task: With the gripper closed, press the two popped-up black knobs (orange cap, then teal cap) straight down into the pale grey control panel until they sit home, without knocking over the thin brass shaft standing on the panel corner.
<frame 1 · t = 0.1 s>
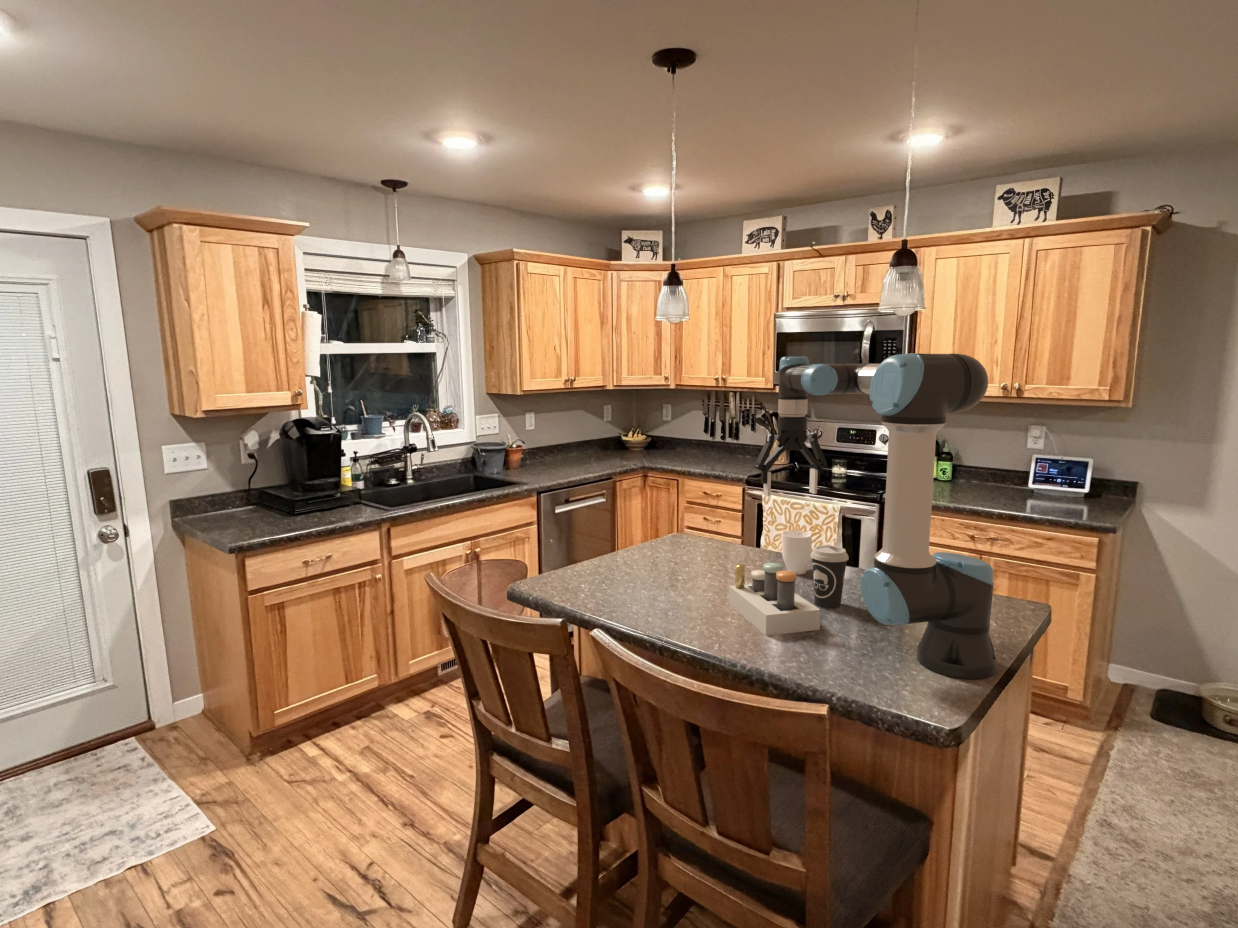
hand: (790, 494, 186), 28 cm above the countertop, fingers open, 13 cm apart
knob b: (772, 583, 172), point 9 cm above the countertop, slide at 0.0 cm
knob a: (785, 592, 166), point 9 cm above the countertop, slide at 0.0 cm
knob c: (760, 589, 180), point 5 cm above the countertop, slide at 4.0 cm
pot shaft: (739, 587, 181), point 5 cm above the countertop, touching panel
mug: (797, 571, 211), on the countertop
coffee cup: (827, 605, 182), on the countertop
panel: (771, 616, 174), on the countertop
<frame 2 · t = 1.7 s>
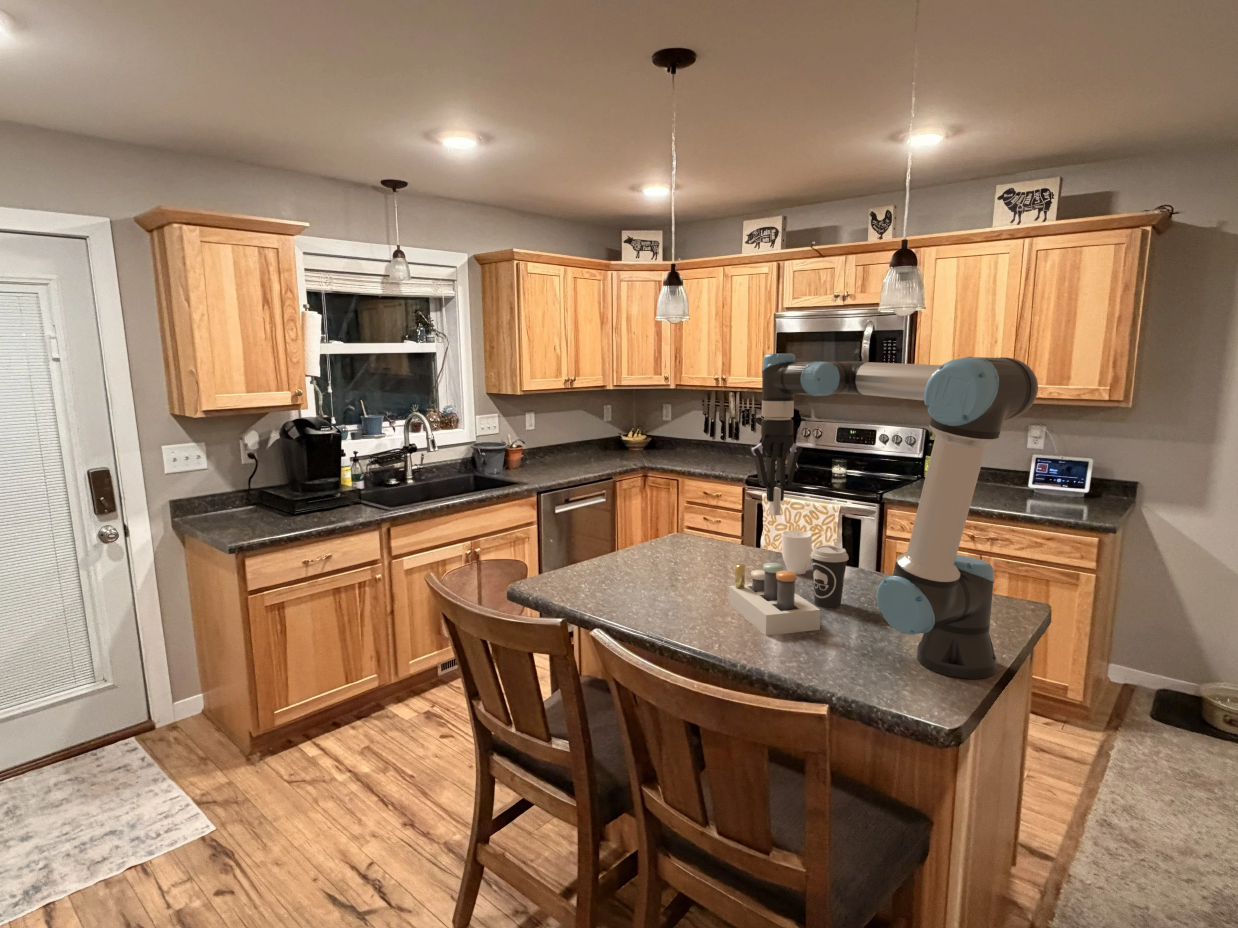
hand: (774, 514, 170), 26 cm above the countertop, fingers closed
nothing on the countertop moved.
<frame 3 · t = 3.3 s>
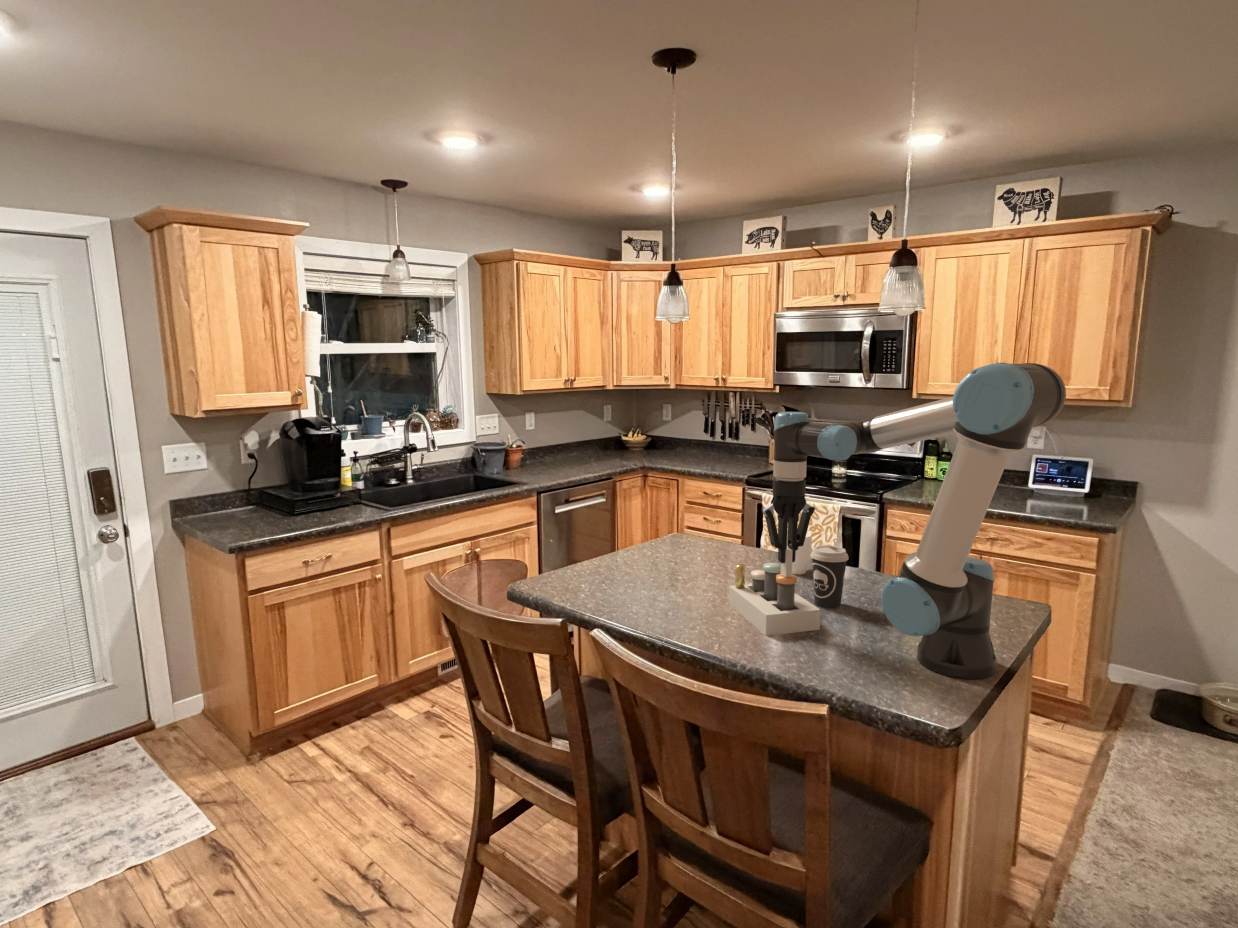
hand: (786, 575, 165), 13 cm above the countertop, fingers closed
knob a: (785, 594, 166), point 8 cm above the countertop, slide at 0.7 cm, touching gripper
everything else where it was.
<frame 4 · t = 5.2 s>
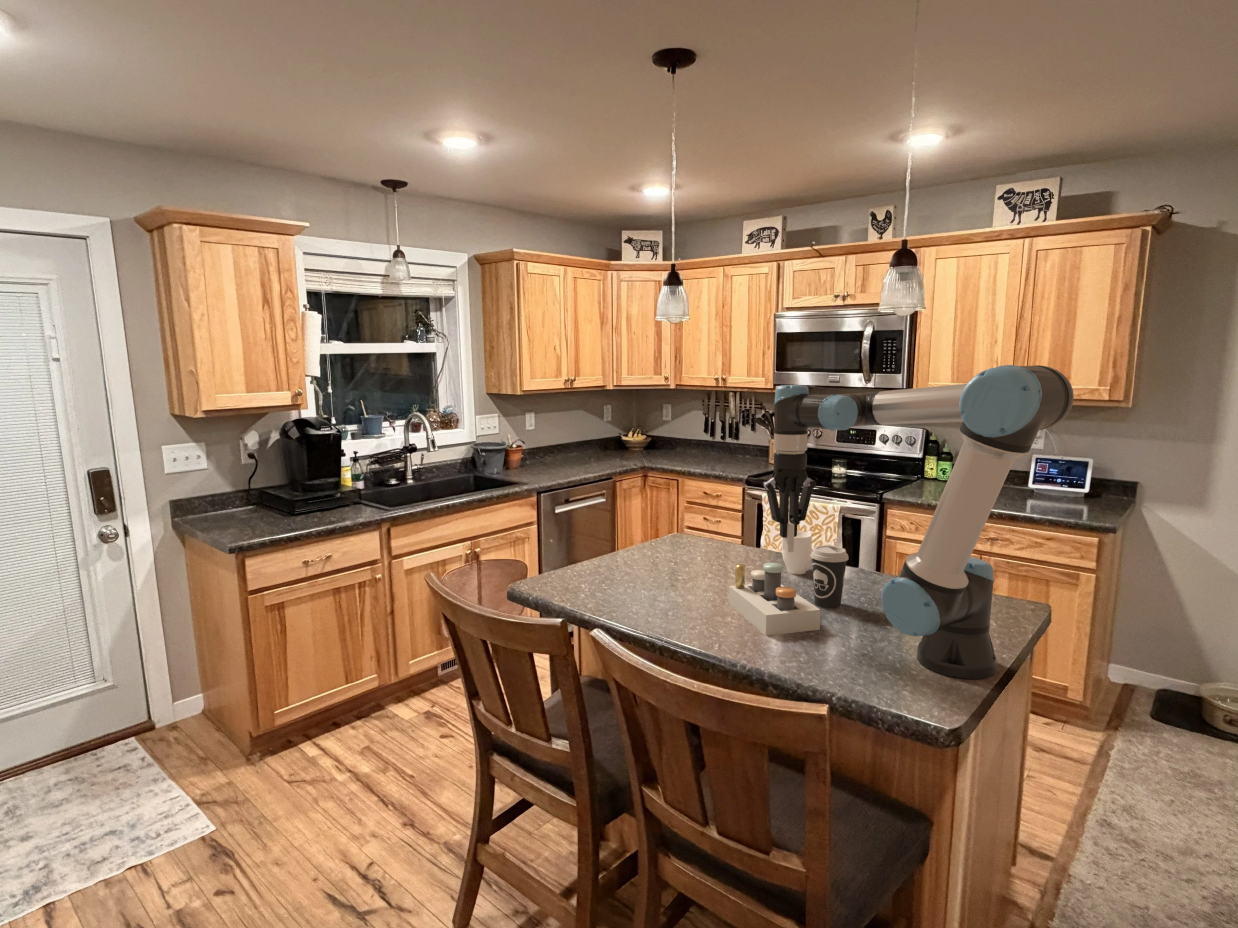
hand: (788, 550, 164), 19 cm above the countertop, fingers closed
knob a: (785, 608, 166), point 5 cm above the countertop, slide at 4.0 cm
everything else where it was.
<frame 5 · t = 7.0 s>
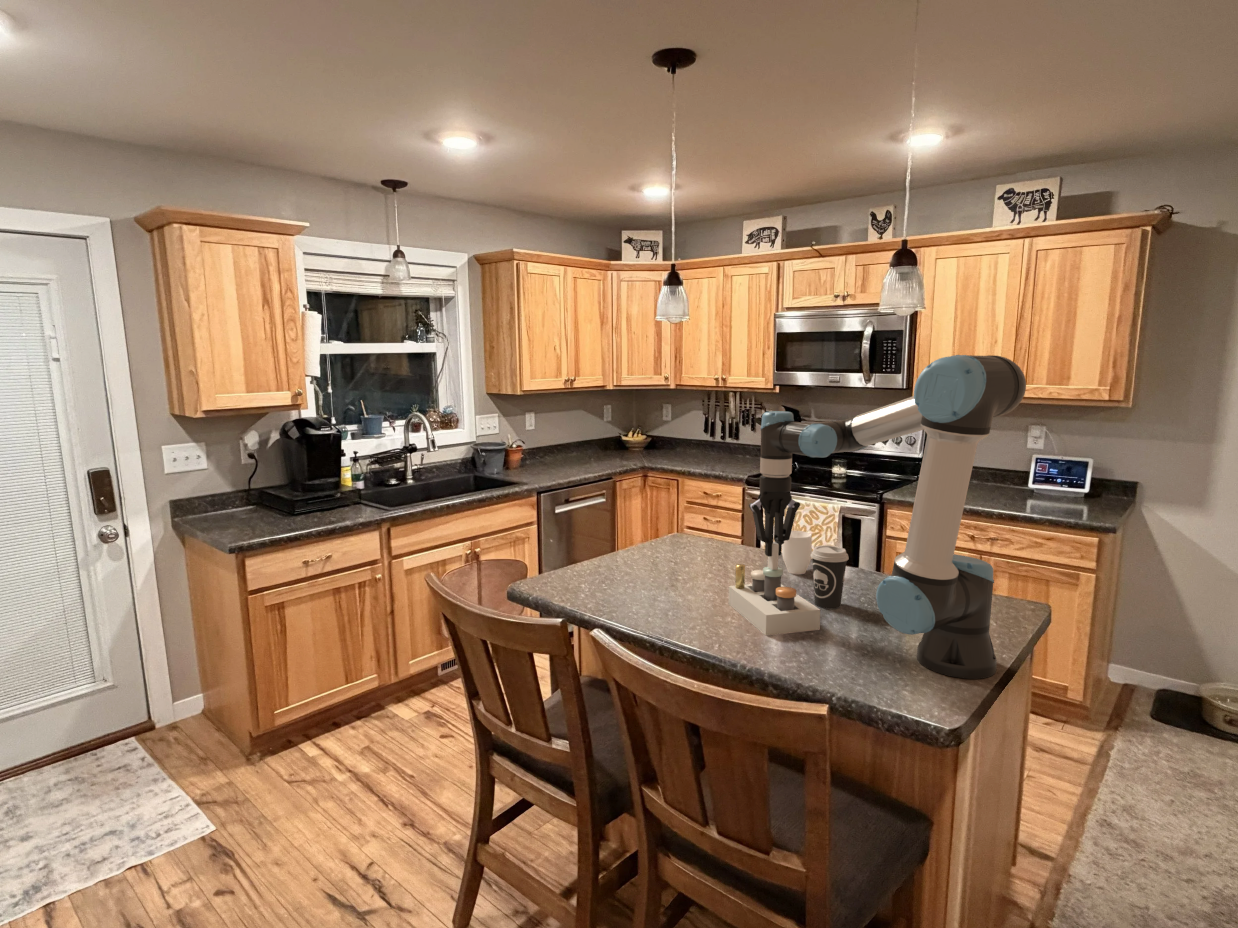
hand: (772, 568, 172), 12 cm above the countertop, fingers closed
knob b: (772, 587, 173), point 8 cm above the countertop, slide at 1.0 cm, touching gripper
everything else where it was.
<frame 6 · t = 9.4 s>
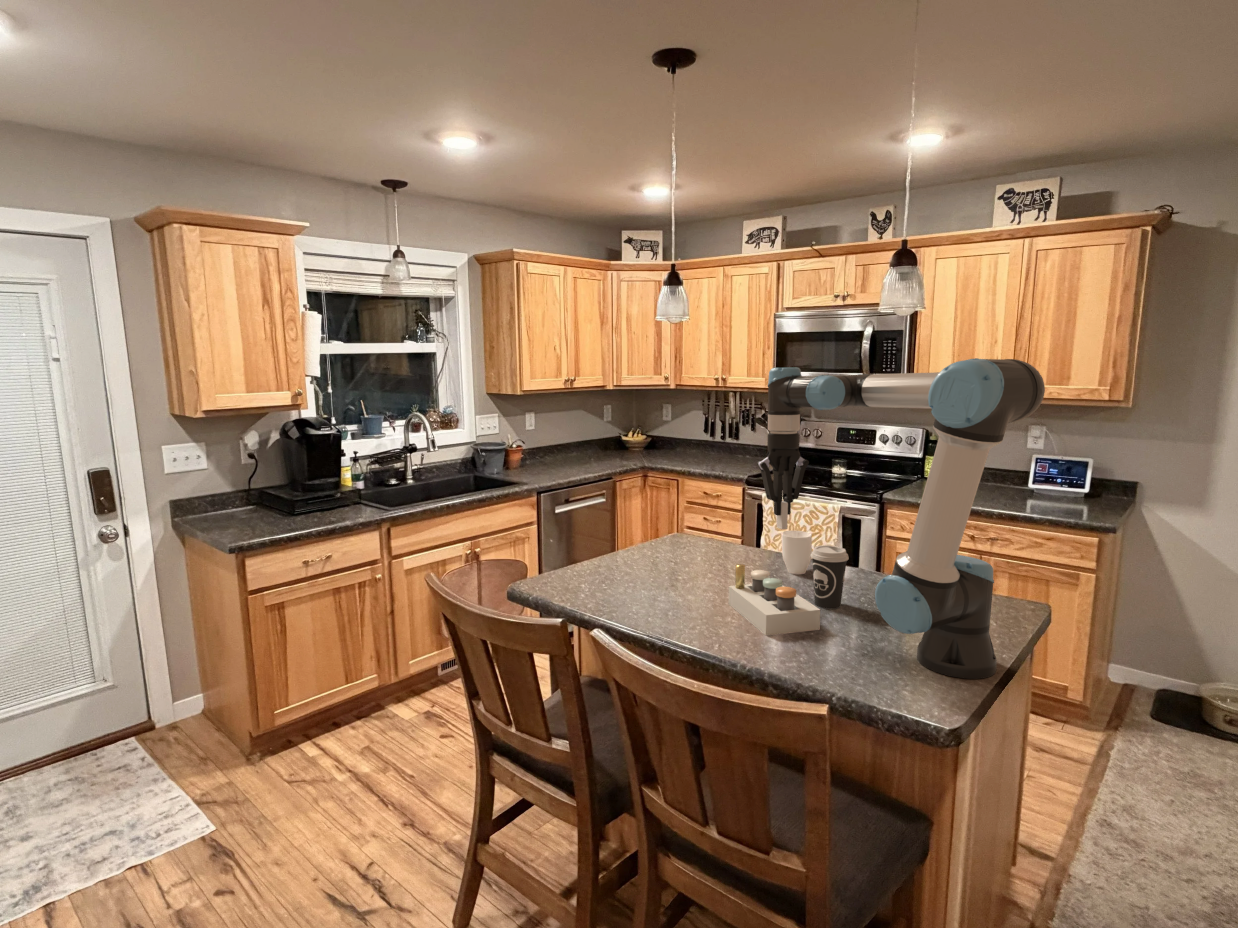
hand: (781, 527, 169), 23 cm above the countertop, fingers closed
knob b: (772, 598, 173), point 5 cm above the countertop, slide at 4.0 cm
everything else where it was.
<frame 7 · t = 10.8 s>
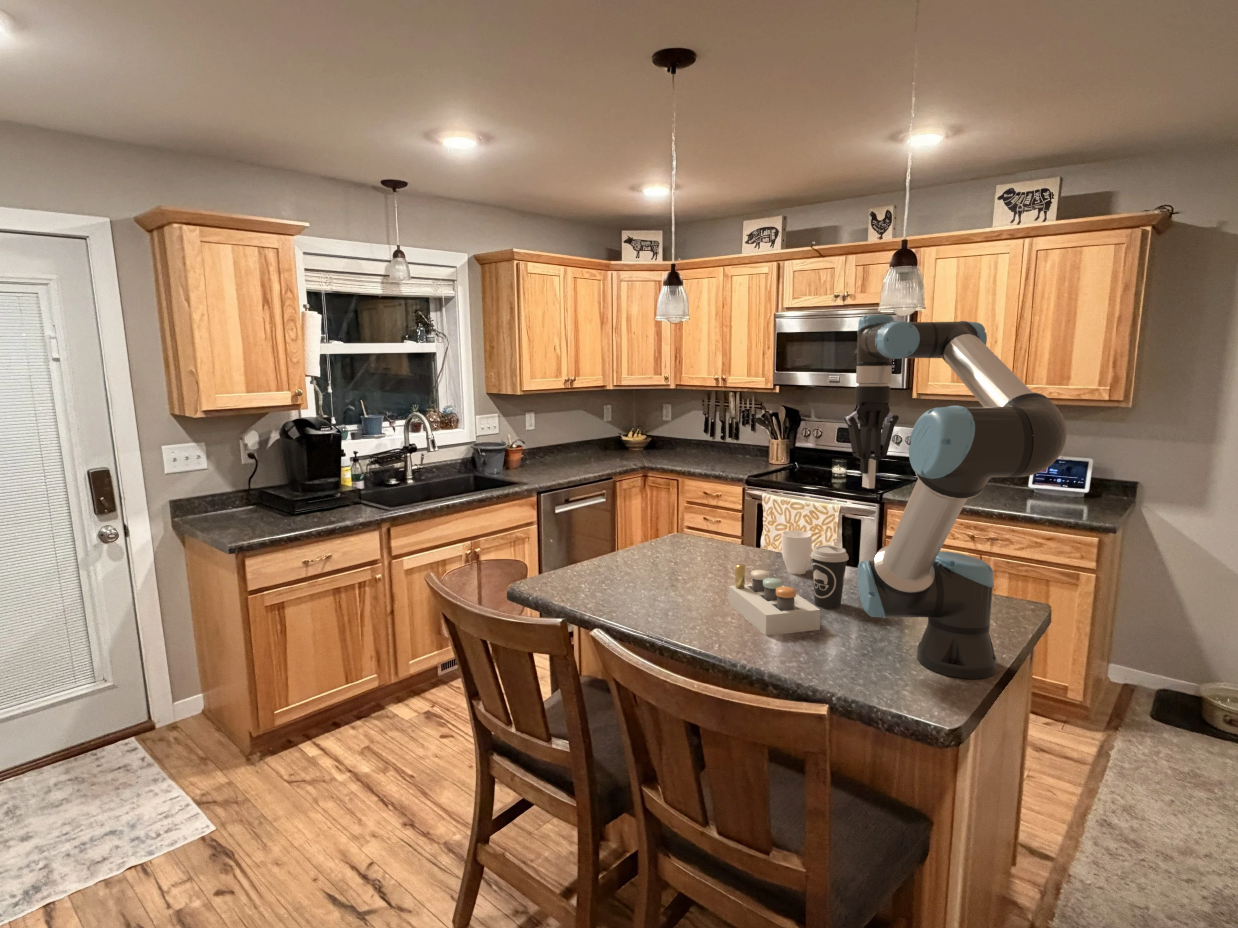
hand: (868, 487, 160), 34 cm above the countertop, fingers closed
nothing on the countertop moved.
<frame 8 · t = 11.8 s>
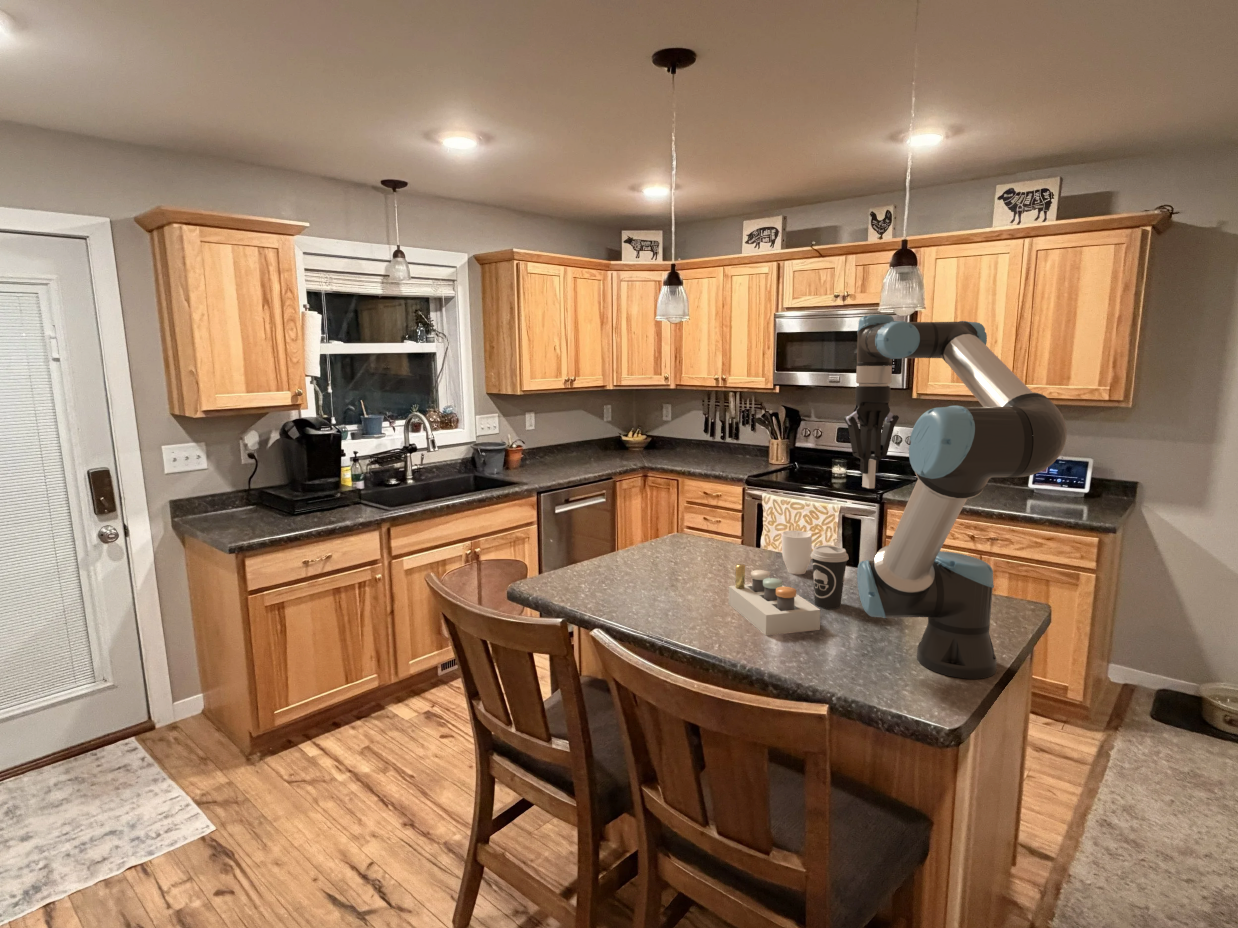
hand: (868, 487, 160), 34 cm above the countertop, fingers closed
nothing on the countertop moved.
at the end: knob a slide at 4.0 cm; knob b slide at 4.0 cm; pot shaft tilted 0° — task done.
